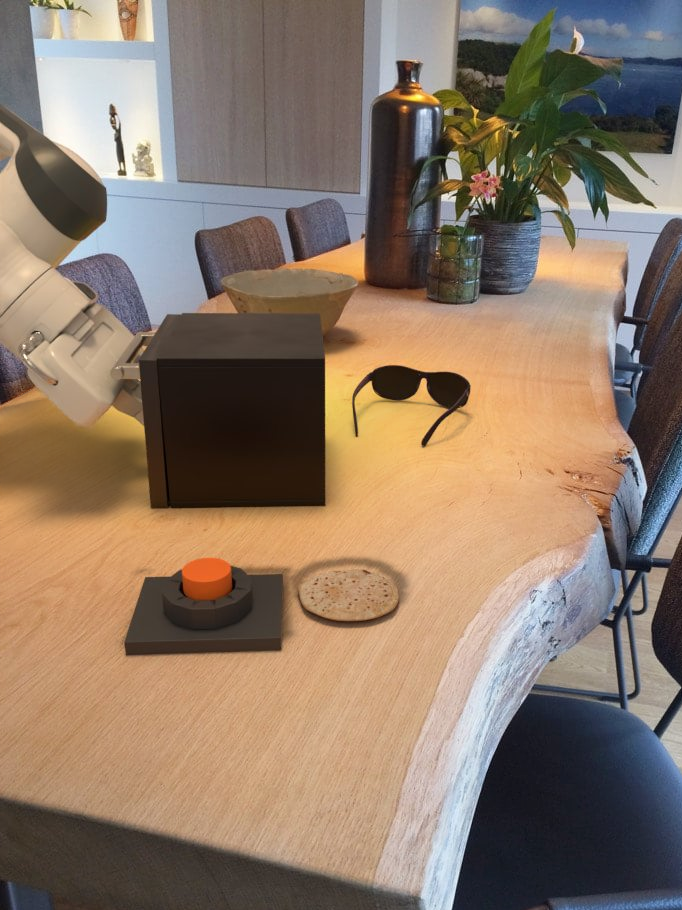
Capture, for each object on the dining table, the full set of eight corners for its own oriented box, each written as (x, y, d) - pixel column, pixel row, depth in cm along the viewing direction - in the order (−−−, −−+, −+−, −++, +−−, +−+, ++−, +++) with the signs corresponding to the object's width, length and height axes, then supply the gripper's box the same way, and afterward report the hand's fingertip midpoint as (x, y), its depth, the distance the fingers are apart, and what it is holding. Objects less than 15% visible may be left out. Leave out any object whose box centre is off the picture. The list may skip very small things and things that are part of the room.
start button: (180, 602, 60) (178, 582, 60) (186, 577, 64) (184, 557, 63) (230, 601, 61) (229, 581, 60) (233, 576, 64) (232, 556, 63)
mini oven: (170, 509, 80) (156, 358, 74) (191, 441, 96) (181, 312, 90) (325, 507, 81) (325, 358, 75) (320, 440, 98) (320, 313, 91)
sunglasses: (472, 408, 109) (475, 371, 107) (448, 450, 96) (450, 409, 94) (374, 397, 113) (375, 361, 111) (336, 436, 99) (336, 396, 97)
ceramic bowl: (215, 358, 128) (211, 293, 124) (233, 323, 149) (230, 266, 144) (358, 360, 129) (359, 295, 125) (356, 325, 150) (357, 269, 145)
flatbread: (399, 577, 69) (400, 567, 69) (397, 629, 62) (398, 618, 62) (302, 573, 69) (302, 563, 69) (290, 624, 63) (289, 612, 62)
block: (125, 656, 59) (121, 620, 57) (146, 589, 67) (142, 557, 66) (281, 651, 60) (280, 616, 58) (283, 586, 68) (282, 554, 67)
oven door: (117, 508, 80) (102, 359, 73) (148, 440, 96) (137, 313, 90) (167, 508, 80) (156, 360, 74) (189, 440, 96) (182, 314, 90)
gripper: (35, 325, 70) (160, 434, 76) (90, 280, 89) (187, 371, 94) (-11, 374, 72) (114, 479, 77) (52, 320, 90) (150, 407, 95)
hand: (155, 419), depth 86 cm, fingers closed, pressing on oven door
